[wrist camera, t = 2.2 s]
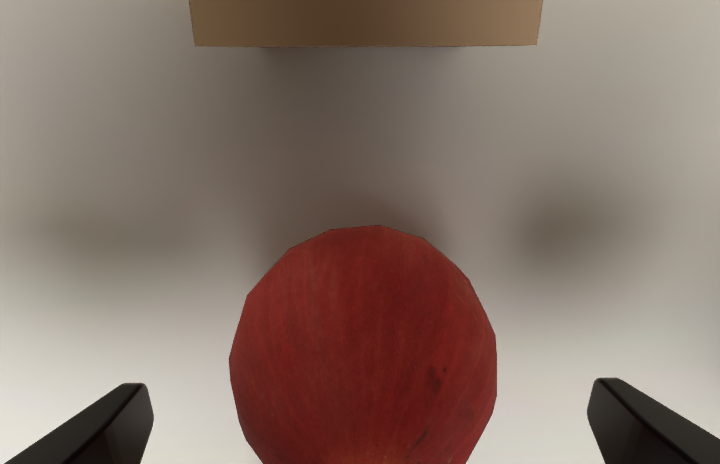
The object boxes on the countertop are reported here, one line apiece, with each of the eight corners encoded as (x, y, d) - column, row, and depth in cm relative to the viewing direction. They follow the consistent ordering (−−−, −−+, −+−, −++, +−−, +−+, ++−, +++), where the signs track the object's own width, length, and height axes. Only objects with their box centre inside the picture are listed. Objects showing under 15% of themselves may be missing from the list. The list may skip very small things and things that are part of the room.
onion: (483, 313, 14) (626, 606, 7) (323, 380, 15) (295, 702, 8) (408, 150, 12) (496, 313, 5) (228, 239, 13) (64, 491, 6)
